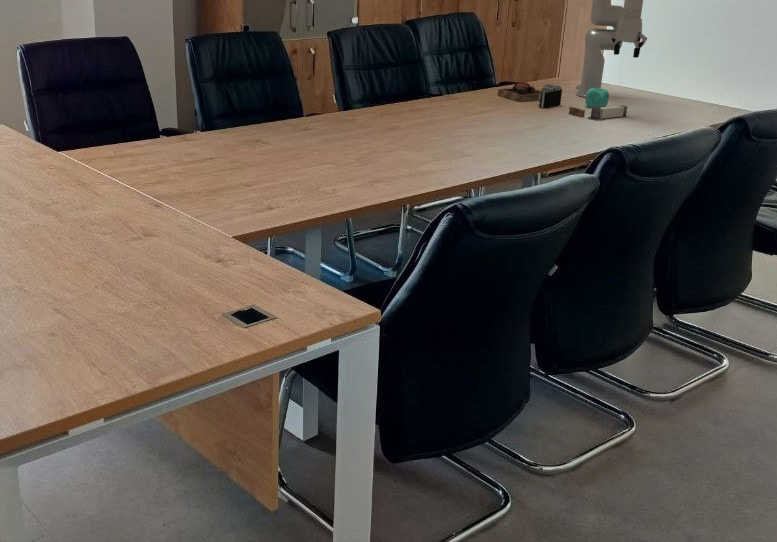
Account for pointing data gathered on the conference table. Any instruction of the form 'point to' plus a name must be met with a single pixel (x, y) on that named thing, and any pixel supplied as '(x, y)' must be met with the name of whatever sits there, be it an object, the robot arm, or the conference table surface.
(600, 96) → the decorative dice
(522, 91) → the pottery mug
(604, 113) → the leg
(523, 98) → the wooden picture frame
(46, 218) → the conference table surface
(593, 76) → the robot arm
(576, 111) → the brown and grey piece
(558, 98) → the camera
